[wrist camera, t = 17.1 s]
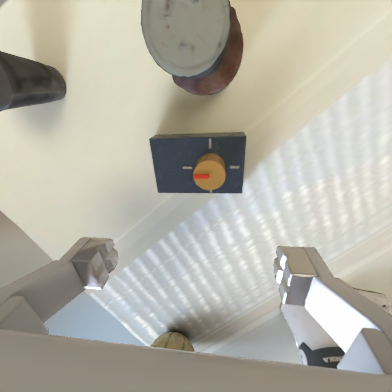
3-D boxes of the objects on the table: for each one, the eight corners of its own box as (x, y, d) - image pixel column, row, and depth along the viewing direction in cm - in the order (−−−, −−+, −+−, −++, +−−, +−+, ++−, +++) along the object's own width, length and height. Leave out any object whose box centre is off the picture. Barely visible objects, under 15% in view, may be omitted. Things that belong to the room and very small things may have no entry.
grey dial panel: (243, 132, 28) (246, 136, 26) (240, 185, 33) (242, 193, 30) (155, 134, 30) (148, 138, 27) (162, 185, 34) (157, 193, 32)
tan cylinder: (225, 152, 27) (226, 160, 24) (224, 180, 29) (225, 191, 26) (195, 153, 28) (192, 161, 24) (196, 180, 30) (193, 191, 27)
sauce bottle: (213, 22, 23) (190, -199, 6) (246, 65, 25) (306, -3, 7) (178, 69, 26) (89, 18, 8) (210, 104, 27) (190, 124, 10)
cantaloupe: (179, 350, 65) (169, 415, 52) (145, 332, 61) (124, 396, 48) (208, 338, 59) (205, 408, 46) (172, 316, 55) (157, 385, 42)
